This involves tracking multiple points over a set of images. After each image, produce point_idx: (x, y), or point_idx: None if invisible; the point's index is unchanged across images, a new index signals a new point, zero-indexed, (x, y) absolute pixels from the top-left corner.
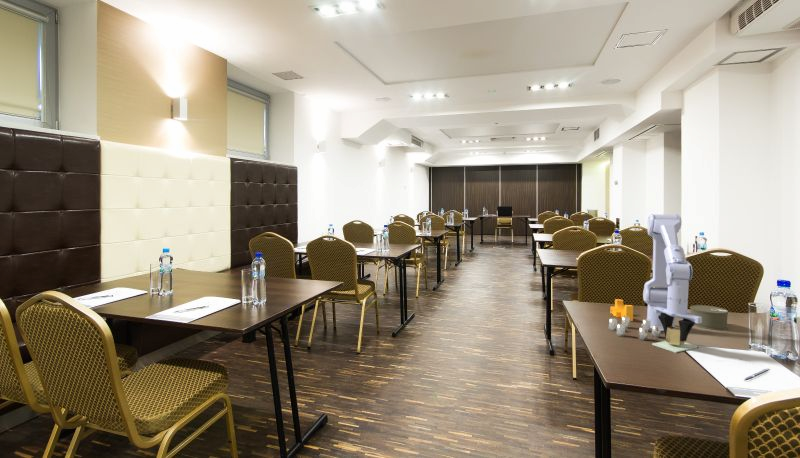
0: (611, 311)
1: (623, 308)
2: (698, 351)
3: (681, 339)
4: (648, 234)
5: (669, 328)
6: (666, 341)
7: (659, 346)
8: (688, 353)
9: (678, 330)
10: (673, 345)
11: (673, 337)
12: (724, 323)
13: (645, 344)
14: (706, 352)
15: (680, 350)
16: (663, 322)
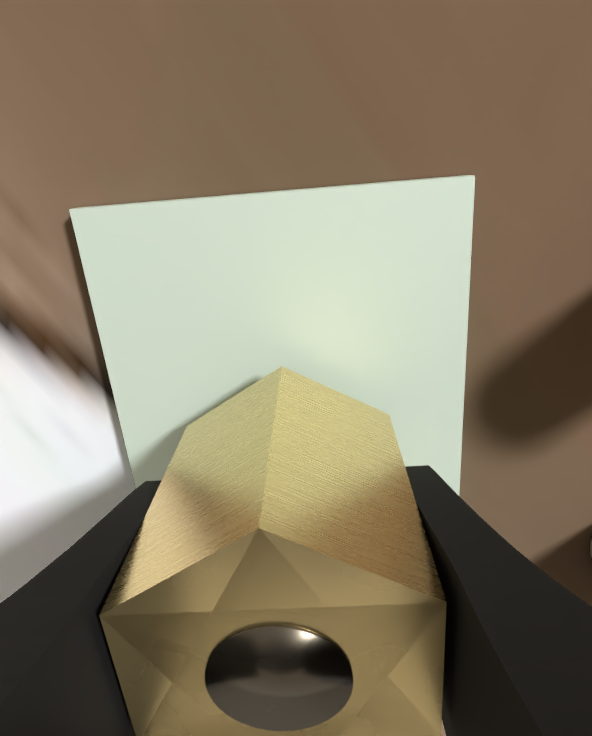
0: None
1: None
2: (74, 527)
3: (138, 494)
4: None
5: (328, 551)
6: (377, 409)
7: (337, 187)
8: (31, 358)
9: (128, 598)
10: None
11: (234, 442)
12: None
13: (532, 78)
14: (33, 572)
15: (98, 322)
16: (572, 665)
